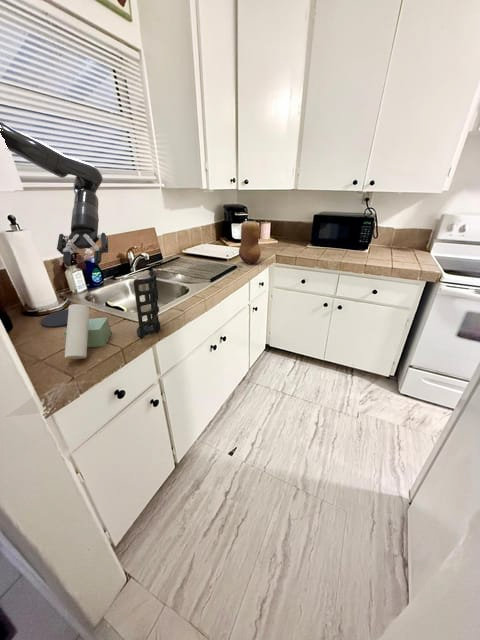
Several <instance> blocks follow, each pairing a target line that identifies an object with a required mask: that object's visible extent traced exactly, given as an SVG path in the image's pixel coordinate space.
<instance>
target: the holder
mask: <svg viewBox="0 0 480 640" xmlns="http://www.w3.org/2000/svg"><path fill="white" fill-rule="evenodd" d="M149 272H150V276H149V277H147V278H139V279H137V278H136V279H134V280H133V288H134V289H133V291H134V297H135V305H136V312H137V320H138V327H137V328H136V335H137V336H138V337H139V338H140V339H142V338H144V337H146V336H150V335H153V334H154V333H158V332H160V330H161V322H160V320H159V313H160V308H159V305H158V301H159V290H158V288H157V287H158V286H157V282H158V279H157V273H156V272H155V271H154V270H150V271H149ZM147 284H148V287H149V288H148V289H147V290H146V289H145V290H140V287H139V286H141V285H147ZM141 296H144V301H141V298H140V297H141ZM148 305H150V309H149V310H146V311H142V307H144V306H148ZM145 316H146V320H145V321H143V317H145Z"/></svg>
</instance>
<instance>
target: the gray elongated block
mask: <svg viewBox="0 0 480 640" xmlns="http://www.w3.org/2000/svg"><path fill="white" fill-rule="evenodd" d="M68 309H69V311H68V322H67V325H66V329H67V334H66V336H65V346H64V347H65V348H64V358H65V359H67V360H82V359H86V358H87V355H88V347H87V339H88V323H89V319H90V307H89V306H88V305H86V304H80V303H74V304H70V305H69V306H68Z"/></svg>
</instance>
